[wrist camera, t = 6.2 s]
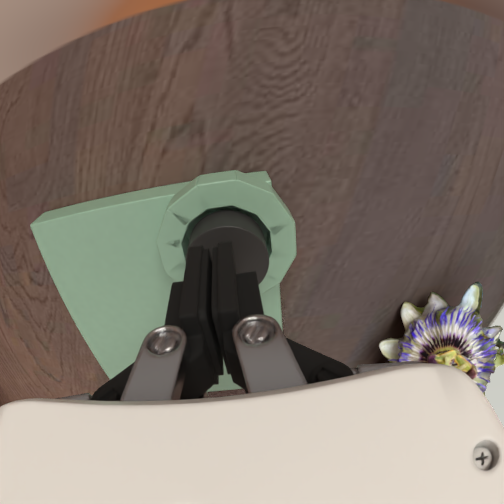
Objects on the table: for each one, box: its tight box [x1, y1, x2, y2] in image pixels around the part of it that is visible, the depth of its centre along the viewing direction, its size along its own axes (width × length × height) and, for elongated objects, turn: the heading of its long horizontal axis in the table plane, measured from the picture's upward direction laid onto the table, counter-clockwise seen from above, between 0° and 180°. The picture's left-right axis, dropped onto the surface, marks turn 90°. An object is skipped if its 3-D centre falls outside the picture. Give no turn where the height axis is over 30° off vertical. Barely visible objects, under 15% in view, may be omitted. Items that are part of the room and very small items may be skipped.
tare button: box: [185, 210, 269, 285], centre depth 14 cm, size 4×4×2 cm
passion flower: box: [379, 282, 504, 395], centre depth 21 cm, size 11×11×12 cm
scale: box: [30, 170, 297, 392], centre depth 18 cm, size 17×15×4 cm
